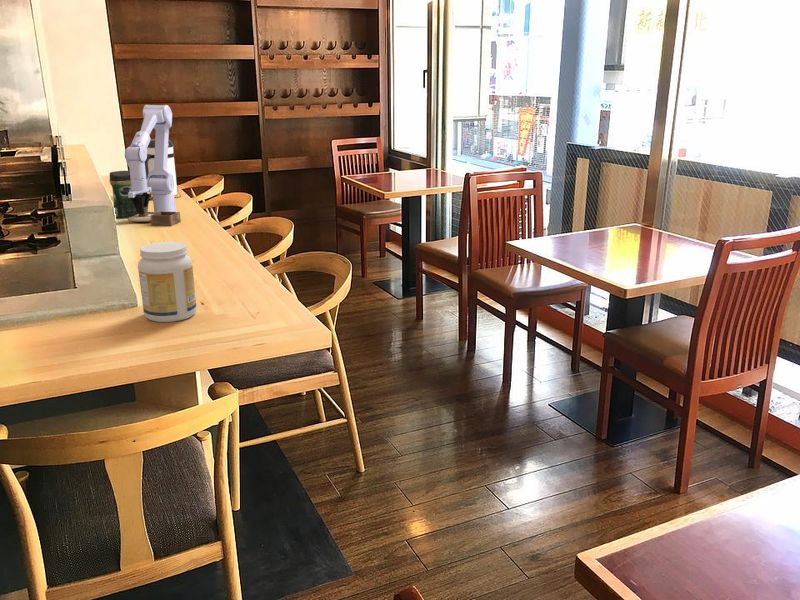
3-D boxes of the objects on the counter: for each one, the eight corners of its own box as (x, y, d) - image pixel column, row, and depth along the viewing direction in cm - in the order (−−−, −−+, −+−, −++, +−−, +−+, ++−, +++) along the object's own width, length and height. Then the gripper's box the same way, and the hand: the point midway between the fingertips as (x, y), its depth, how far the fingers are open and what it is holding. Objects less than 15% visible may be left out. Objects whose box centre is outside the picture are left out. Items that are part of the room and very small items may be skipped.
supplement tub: (178, 303, 171) (171, 238, 165) (207, 314, 163) (201, 245, 158) (133, 316, 162) (125, 247, 156) (162, 327, 154) (154, 255, 149)
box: (161, 222, 266) (160, 211, 265) (180, 223, 265) (179, 212, 264) (151, 226, 259) (150, 215, 257) (171, 227, 258) (170, 215, 256)
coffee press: (144, 197, 323) (136, 132, 314) (178, 194, 330) (172, 131, 321) (147, 202, 309) (140, 135, 299) (183, 200, 315) (177, 134, 306)
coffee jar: (136, 213, 284) (131, 169, 278) (141, 216, 278) (136, 171, 272) (112, 216, 279) (106, 170, 273) (116, 219, 272) (110, 172, 267)
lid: (139, 218, 270) (137, 205, 269) (159, 217, 269) (158, 205, 268) (128, 222, 262) (125, 209, 261) (149, 222, 261) (147, 209, 259)
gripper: (138, 175, 268) (142, 209, 272) (118, 180, 254) (123, 216, 259) (154, 175, 267) (158, 209, 271) (136, 181, 253) (140, 216, 258)
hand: (142, 213), depth 265 cm, fingers closed on lid, 3 cm apart
